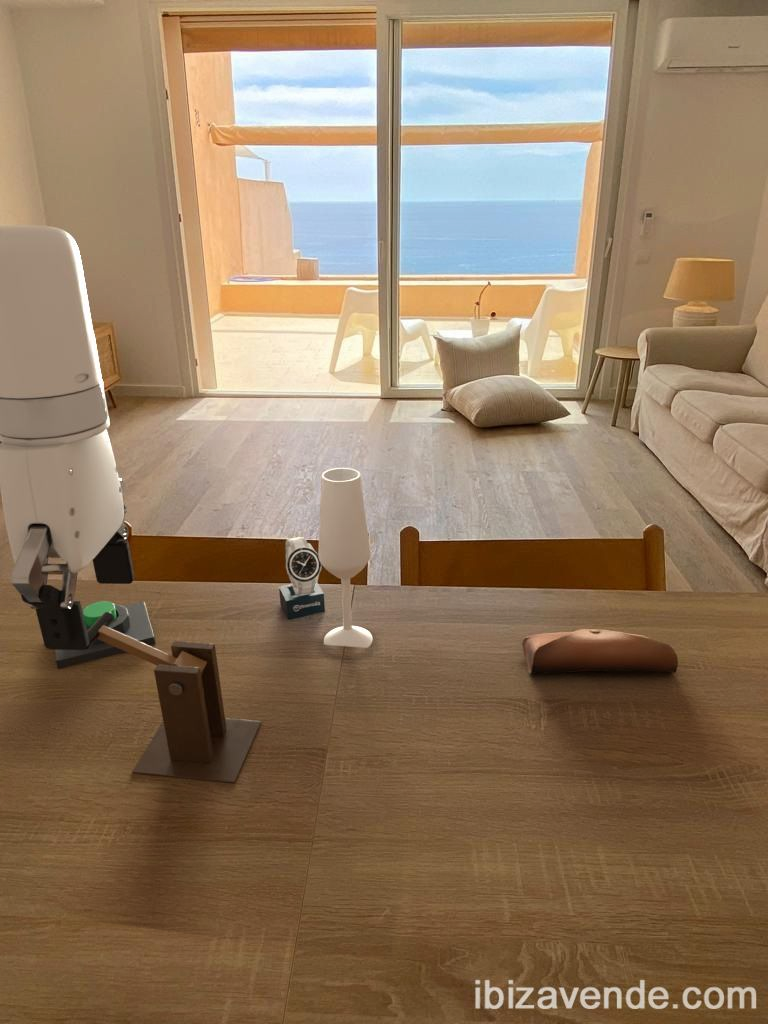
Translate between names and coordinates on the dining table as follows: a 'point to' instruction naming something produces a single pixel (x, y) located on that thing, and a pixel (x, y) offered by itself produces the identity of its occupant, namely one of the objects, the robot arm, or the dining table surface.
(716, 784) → the dining table surface
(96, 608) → the light button
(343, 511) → the champagne flute
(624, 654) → the sunglasses case
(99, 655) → the button box
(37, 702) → the dining table surface
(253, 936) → the dining table surface
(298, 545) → the watch
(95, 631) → the lever
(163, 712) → the switch bracket
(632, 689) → the dining table surface
